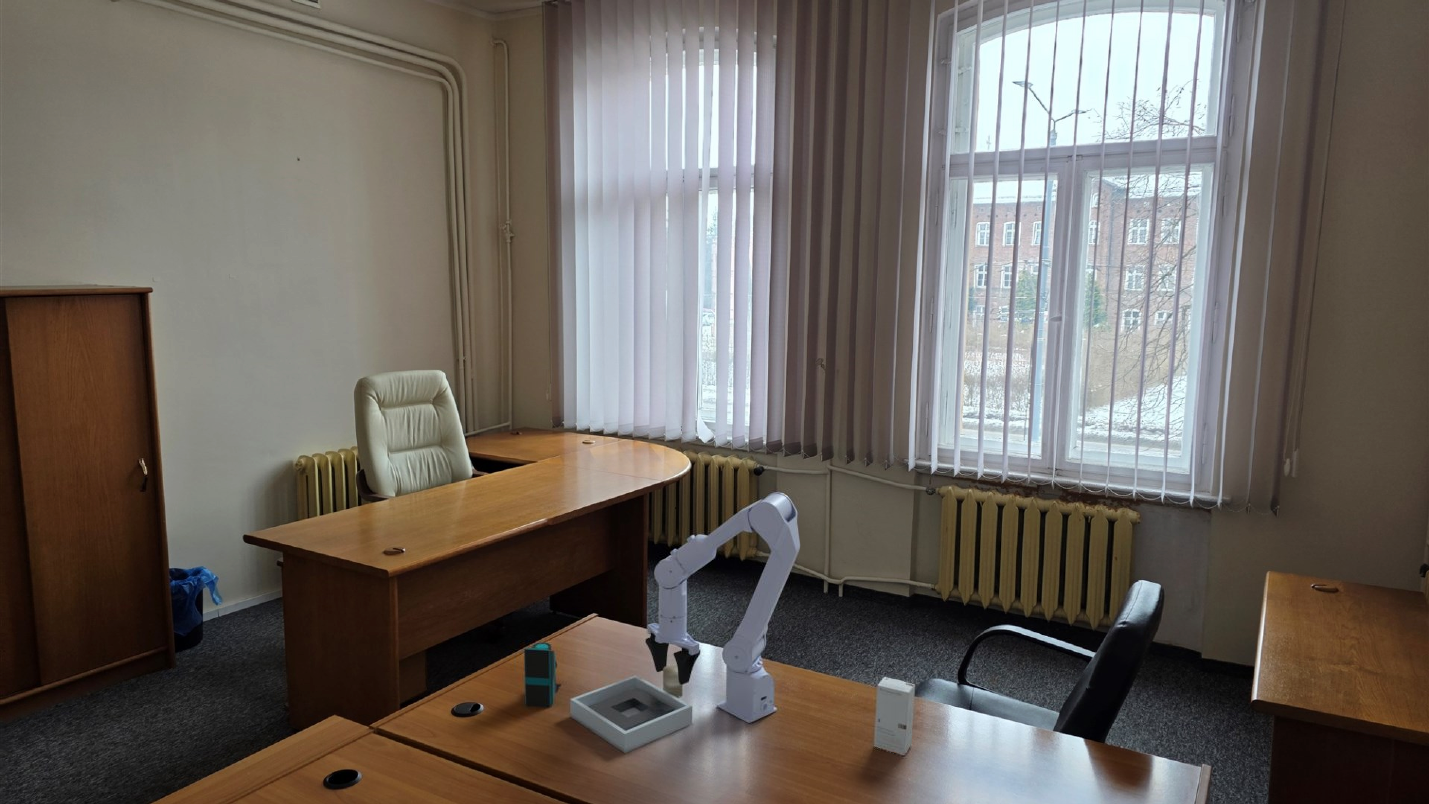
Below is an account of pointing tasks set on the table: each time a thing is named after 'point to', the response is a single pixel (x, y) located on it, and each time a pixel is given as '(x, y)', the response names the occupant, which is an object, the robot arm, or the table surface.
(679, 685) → the peg
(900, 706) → the skincare box
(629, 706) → the plate
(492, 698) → the table surface
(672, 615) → the robot arm
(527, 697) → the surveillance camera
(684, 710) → the tray
